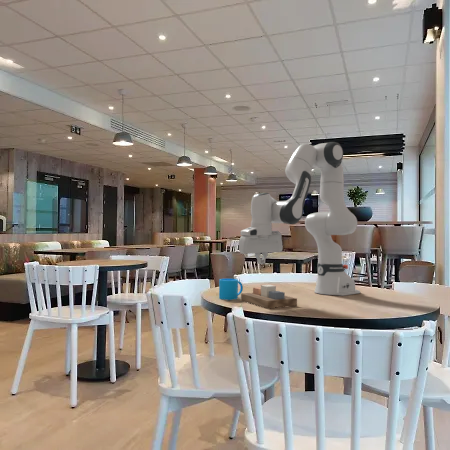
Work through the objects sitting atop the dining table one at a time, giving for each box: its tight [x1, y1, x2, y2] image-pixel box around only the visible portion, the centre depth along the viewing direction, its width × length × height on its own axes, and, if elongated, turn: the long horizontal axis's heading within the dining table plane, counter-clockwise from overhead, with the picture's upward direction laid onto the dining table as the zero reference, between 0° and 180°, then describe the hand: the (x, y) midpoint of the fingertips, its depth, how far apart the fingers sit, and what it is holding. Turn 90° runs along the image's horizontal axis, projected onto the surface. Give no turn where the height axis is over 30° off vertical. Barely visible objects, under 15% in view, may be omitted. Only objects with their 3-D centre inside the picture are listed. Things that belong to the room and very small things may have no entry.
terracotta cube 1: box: [252, 286, 261, 295], centre depth 182 cm, size 4×4×4 cm
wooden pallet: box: [240, 292, 298, 309], centre depth 176 cm, size 14×20×3 cm
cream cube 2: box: [260, 284, 277, 297], centre depth 176 cm, size 4×4×4 cm
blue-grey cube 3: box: [269, 290, 286, 300], centre depth 171 cm, size 4×4×4 cm
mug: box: [218, 278, 244, 301], centre depth 189 cm, size 12×8×8 cm
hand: (261, 263), depth 182 cm, fingers closed
